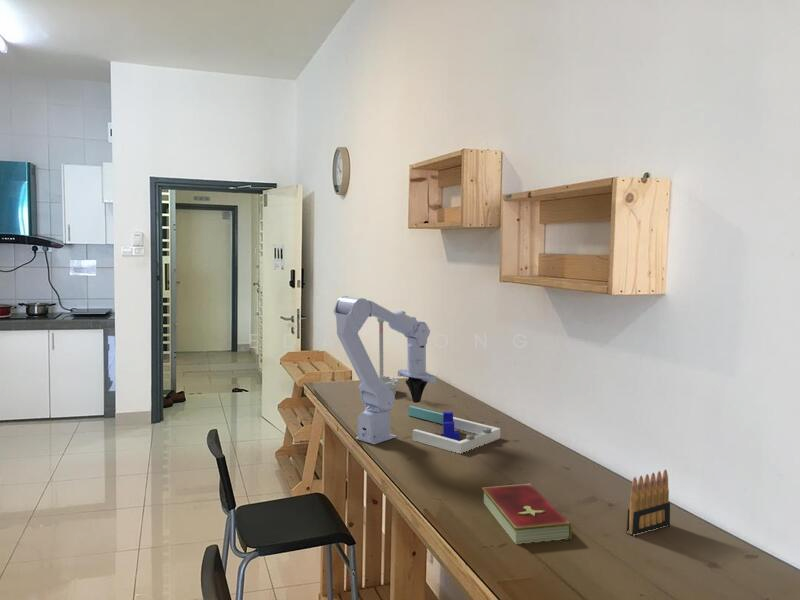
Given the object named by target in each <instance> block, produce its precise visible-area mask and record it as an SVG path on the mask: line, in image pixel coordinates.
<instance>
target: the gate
mask: <svg viewBox="0 0 800 600" xmlns="http://www.w3.org/2000/svg"><path fill="white" fill-rule="evenodd" d="M407 410H408V416H410V417H414V418H418V419H420V420H426V421H429V422H432V423H438V424H441V425H443V412H442V413H441V412H437V411H435V410H429V409H425V408H422V407H417V406H413V405H409V406H408V409H407Z"/></svg>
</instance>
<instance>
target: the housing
mask: <svg viewBox="0 0 800 600" xmlns="http://www.w3.org/2000/svg"><path fill="white" fill-rule="evenodd" d="M453 422H454V429H455V428H457V429H456V430H459V429H461V430H460V431H463V430H464V431H463V432H466V433H470V432H471V433H470V434H466V435H465V436H466V437H465V439H462V440H459V441H457V440H453V439H450V438H446V437H444V435H443V436H442V435H439V434H435V433H431V432H427V431H424V430H420V429H417V428H416V429H413V430H412V441H415V442H417V441H418V443H422V444H425V445H429V446H432V447H434V448H438V449H441V450H444V451H449V452H451V451H452V453H455V452H456V453H455V454H458V453H460V454H459V455H462V454H464V453H463V452H465V453H467V452H470V451H472V450H474V448H475V449H477V448H479V446H480V447H482V446H485V445H487V444H490V443H492V442H495V441H497V440H499V439H501V428H500V427H496V426H492V425H489V424H483V423H479V422H475V421H471V420H467V419H463V418H459V417H455V416H453ZM474 433H475V434H474ZM484 444H485V445H484ZM476 447H477V448H476ZM471 449H472V450H471ZM469 450H470V451H469ZM466 451H467V452H466ZM461 453H462V454H461Z"/></svg>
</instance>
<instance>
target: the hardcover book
mask: <svg viewBox="0 0 800 600" xmlns="http://www.w3.org/2000/svg"><path fill="white" fill-rule="evenodd" d="M481 490H482V492H483V504H484V505H485V506H486V508H487V509H488V510H489V512H490V513H491V514H492V515H493V517H494V518H495V520H496V521H497V522H498V523H499V524H500V526H501V527H502V529H504V531H505V533H507V535H508V534H509V535H508V536H509V537H510V538H511V540H512V541H513V542H514V543H515V545H522V543H525V544H532V543H531V542H535V543H541V541H545V542H552V541H551V540H555V541H561V539H565V538H569V539H571V540H572V538H573V537H572V536H573V527H572V523H570V521H569V520H568V519H567V518H566V517H564V516H563V515H562V514H561V512H560V511H559V510H557V508H555V507H554V505H552V503H550V502H549V501H548V500H547V499H546V498H545V497H544V496H543V495H542V494H541V493H540V492H539V491H538V490H537V489H536V488H535V487H534V486H533V485H532V484H531V483H524V484H522V483H520V484H511V485H510V484H509V485H497V486H485V487H484V486H483V487H481ZM569 539H568V540H569ZM565 540H566V539H565Z"/></svg>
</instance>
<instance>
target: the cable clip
mask: <svg viewBox="0 0 800 600" xmlns="http://www.w3.org/2000/svg"><path fill="white" fill-rule="evenodd" d="M442 414H443V424H442V429H443V430H442V432H443V434H444V435H443V437H446V438H450V439H453V440H457V441H460V430H455V428H454V422H453V417H454V412H453V411H443V412H442Z"/></svg>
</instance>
